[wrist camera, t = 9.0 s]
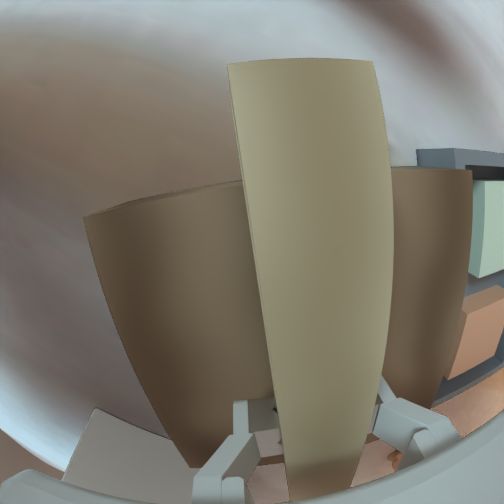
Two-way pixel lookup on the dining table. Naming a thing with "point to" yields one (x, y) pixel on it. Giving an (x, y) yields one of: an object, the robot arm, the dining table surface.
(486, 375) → the box
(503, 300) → the terracotta tile
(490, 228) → the sage tile
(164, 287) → the dark wooden square block
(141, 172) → the dining table surface
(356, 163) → the bar
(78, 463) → the gable box
